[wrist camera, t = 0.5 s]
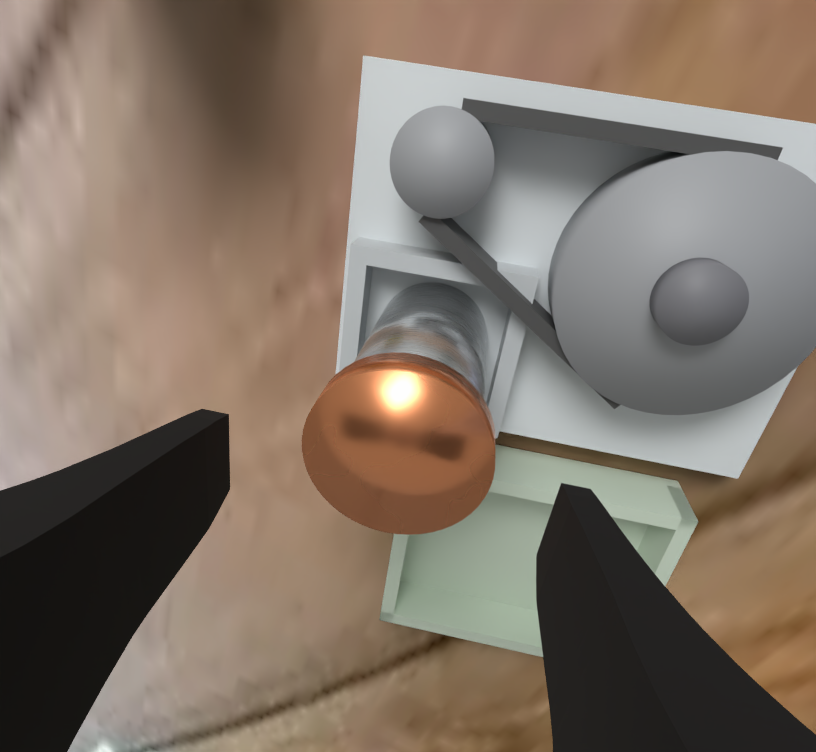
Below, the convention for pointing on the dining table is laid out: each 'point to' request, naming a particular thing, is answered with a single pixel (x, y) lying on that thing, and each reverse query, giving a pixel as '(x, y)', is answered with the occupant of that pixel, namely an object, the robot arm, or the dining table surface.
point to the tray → (522, 548)
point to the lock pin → (408, 418)
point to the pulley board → (529, 238)
